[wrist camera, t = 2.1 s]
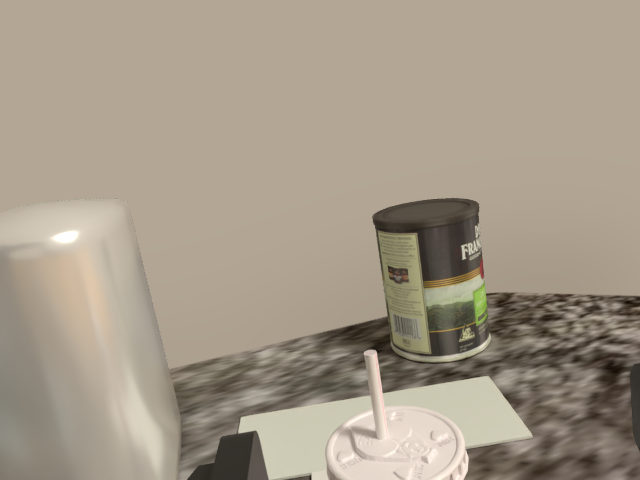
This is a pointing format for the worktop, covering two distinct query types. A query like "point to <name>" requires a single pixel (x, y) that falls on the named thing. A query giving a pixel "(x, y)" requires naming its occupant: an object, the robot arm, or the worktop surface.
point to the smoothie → (395, 441)
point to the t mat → (323, 419)
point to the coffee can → (433, 279)
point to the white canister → (81, 349)
